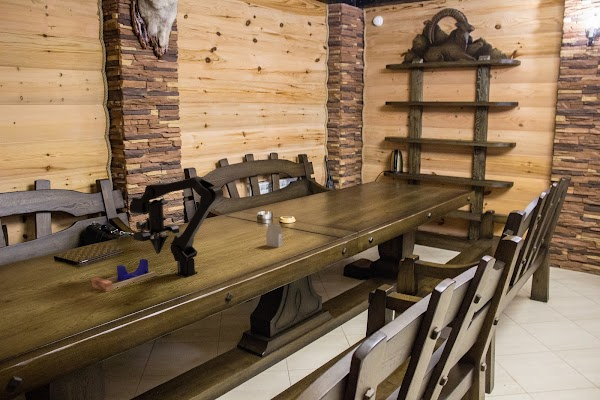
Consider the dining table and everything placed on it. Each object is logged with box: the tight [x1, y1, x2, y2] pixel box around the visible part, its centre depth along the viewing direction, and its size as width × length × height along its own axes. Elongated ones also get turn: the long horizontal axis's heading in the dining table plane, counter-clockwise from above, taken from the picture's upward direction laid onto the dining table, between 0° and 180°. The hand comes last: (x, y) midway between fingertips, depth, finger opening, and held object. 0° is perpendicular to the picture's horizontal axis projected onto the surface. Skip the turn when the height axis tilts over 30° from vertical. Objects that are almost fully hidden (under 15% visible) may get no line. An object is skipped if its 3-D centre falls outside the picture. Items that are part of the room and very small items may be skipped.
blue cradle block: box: [116, 258, 149, 282], centre depth 211 cm, size 12×4×6 cm, turn 143°
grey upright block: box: [265, 223, 284, 248], centre depth 258 cm, size 4×7×10 cm, turn 61°
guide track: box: [91, 270, 157, 292], centre depth 207 cm, size 9×22×3 cm, turn 144°
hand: (158, 253), depth 219 cm, fingers closed
